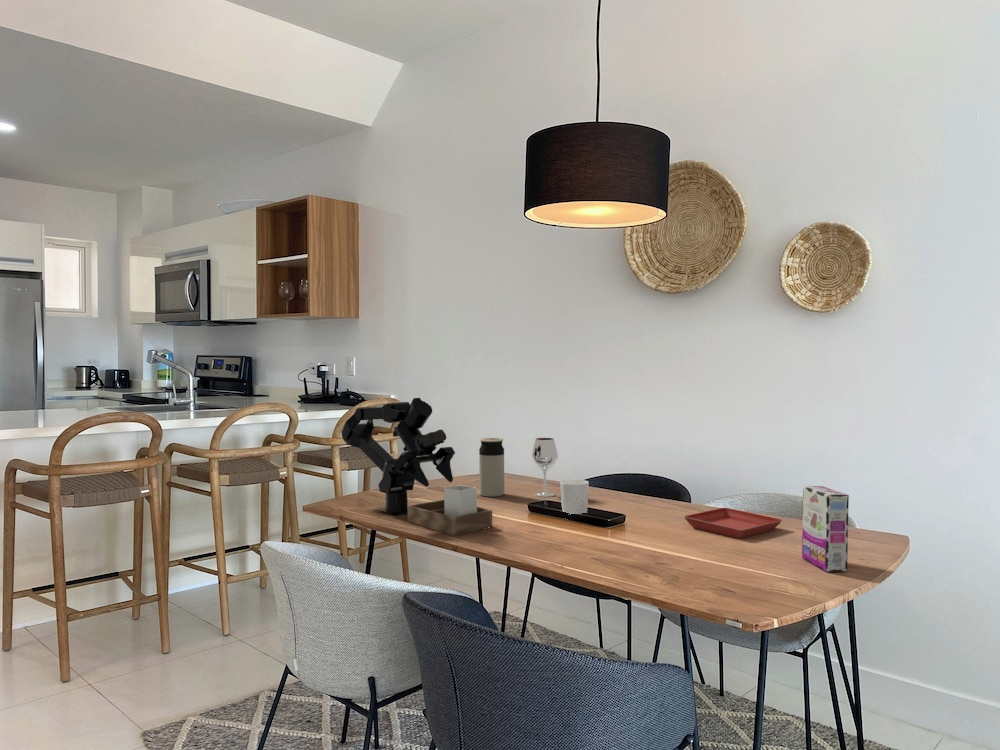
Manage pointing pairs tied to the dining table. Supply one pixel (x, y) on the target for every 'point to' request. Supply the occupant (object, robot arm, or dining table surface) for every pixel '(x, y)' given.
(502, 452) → the travel mug
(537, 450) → the wineglass
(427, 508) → the crate
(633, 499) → the dining table surface
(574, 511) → the white cup
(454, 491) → the box
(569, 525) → the dining table surface
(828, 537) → the candy bar box
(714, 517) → the plant saucer
